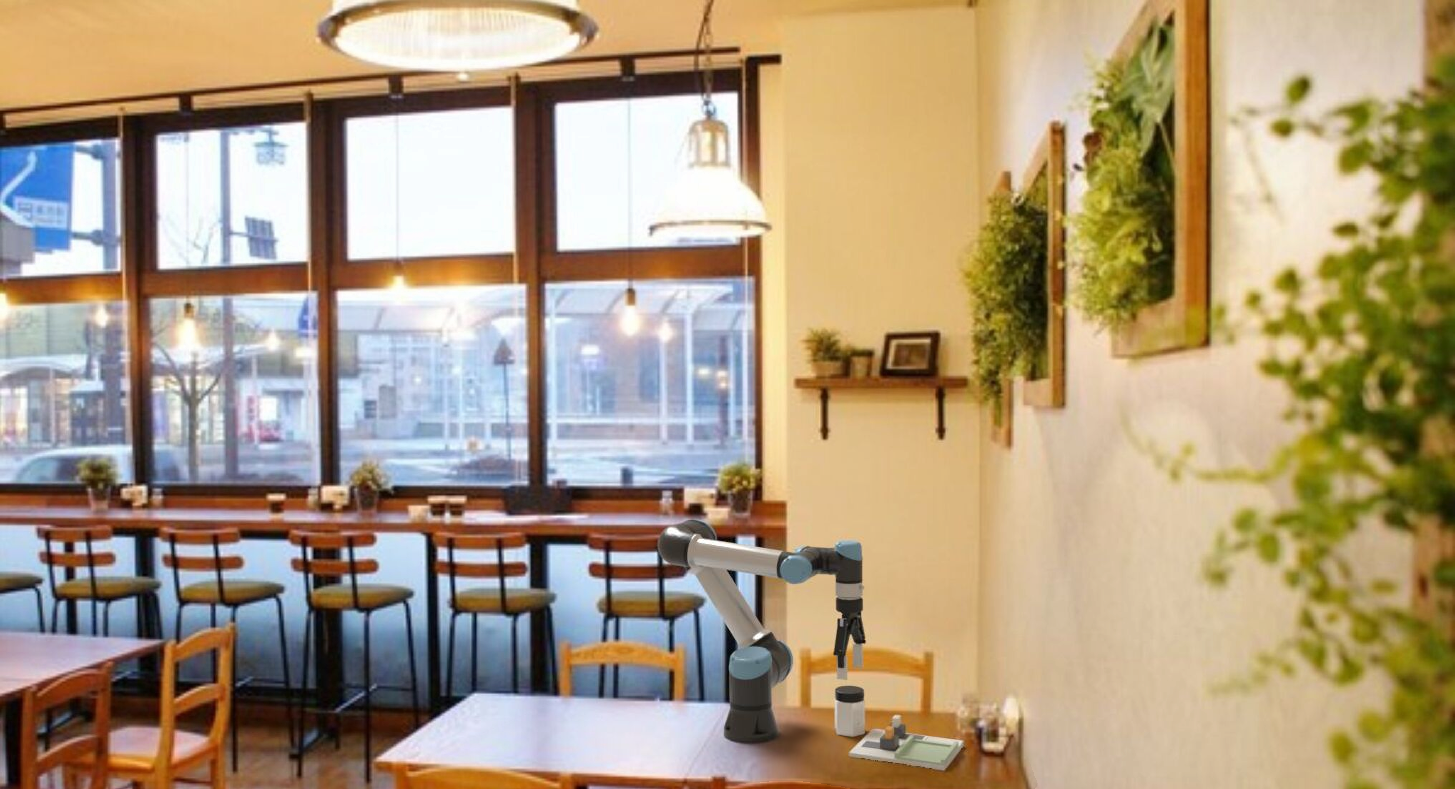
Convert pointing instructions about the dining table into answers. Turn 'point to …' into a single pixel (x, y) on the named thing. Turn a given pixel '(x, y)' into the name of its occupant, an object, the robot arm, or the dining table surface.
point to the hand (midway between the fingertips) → (850, 672)
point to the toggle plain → (898, 726)
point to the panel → (909, 750)
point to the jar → (849, 711)
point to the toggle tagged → (889, 739)
